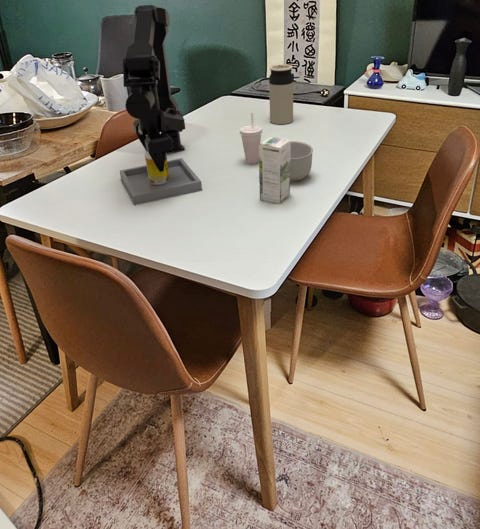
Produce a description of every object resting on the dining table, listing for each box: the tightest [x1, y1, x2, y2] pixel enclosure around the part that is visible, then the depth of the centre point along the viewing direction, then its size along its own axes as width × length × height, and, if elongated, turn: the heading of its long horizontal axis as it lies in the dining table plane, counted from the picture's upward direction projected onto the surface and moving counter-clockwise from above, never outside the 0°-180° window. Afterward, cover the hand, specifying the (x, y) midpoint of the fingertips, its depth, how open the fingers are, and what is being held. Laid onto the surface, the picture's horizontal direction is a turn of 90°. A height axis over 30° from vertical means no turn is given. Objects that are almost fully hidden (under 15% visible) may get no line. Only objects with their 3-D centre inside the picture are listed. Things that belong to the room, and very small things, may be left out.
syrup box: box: [258, 136, 292, 205], centre depth 118 cm, size 6×6×14 cm
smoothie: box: [239, 112, 263, 165], centre depth 138 cm, size 6×6×14 cm
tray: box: [119, 157, 203, 206], centre depth 132 cm, size 18×18×2 cm
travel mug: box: [268, 63, 294, 125], centre depth 166 cm, size 8×8×18 cm
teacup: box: [290, 140, 314, 182], centre depth 130 cm, size 14×11×8 cm
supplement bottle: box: [144, 151, 170, 185], centre depth 130 cm, size 6×6×10 cm
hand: (157, 165), depth 130 cm, fingers open, 9 cm apart
